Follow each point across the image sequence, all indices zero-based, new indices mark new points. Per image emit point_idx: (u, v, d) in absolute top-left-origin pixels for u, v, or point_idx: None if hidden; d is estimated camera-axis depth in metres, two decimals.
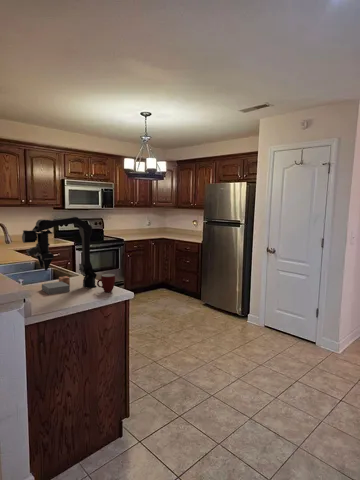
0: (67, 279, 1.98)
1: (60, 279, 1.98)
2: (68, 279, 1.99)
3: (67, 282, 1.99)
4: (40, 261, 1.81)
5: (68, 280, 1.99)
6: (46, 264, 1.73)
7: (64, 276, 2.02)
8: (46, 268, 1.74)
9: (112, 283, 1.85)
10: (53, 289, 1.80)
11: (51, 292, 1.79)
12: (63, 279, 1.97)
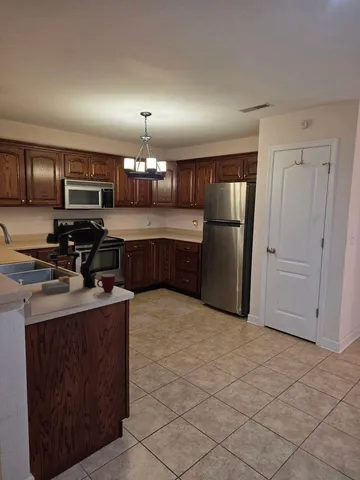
0: (67, 279, 1.98)
1: (60, 279, 1.98)
2: (68, 279, 1.99)
3: (67, 282, 1.99)
4: (71, 262, 2.02)
5: (68, 280, 1.99)
6: (54, 264, 1.95)
7: (64, 276, 2.02)
8: (56, 267, 1.95)
9: (112, 283, 1.85)
10: (53, 289, 1.80)
11: (51, 292, 1.79)
12: (63, 279, 1.97)
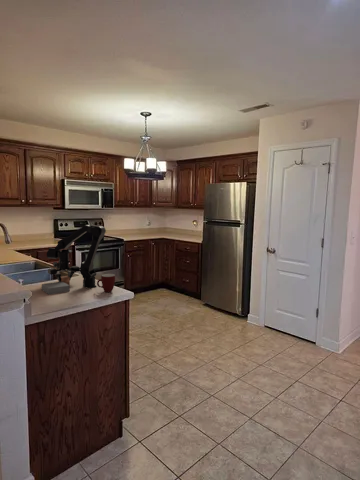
0: (67, 279, 1.98)
1: None
2: (68, 279, 1.99)
3: (67, 282, 1.99)
4: None
5: (68, 280, 1.99)
6: (58, 278, 1.97)
7: (64, 276, 2.02)
8: None
9: (112, 283, 1.85)
10: (53, 289, 1.80)
11: (51, 292, 1.79)
12: (63, 279, 1.97)
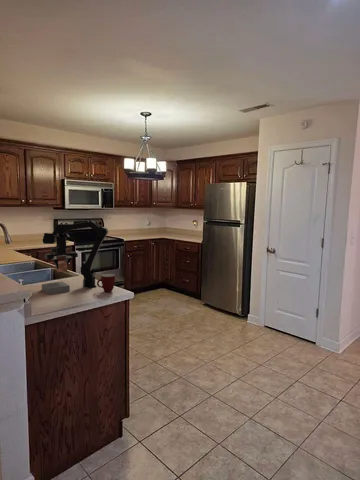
0: (64, 264, 1.93)
1: None
2: (65, 265, 1.94)
3: (64, 268, 1.94)
4: None
5: (65, 266, 1.94)
6: (55, 264, 1.92)
7: (62, 262, 1.97)
8: (56, 267, 1.93)
9: (112, 283, 1.85)
10: (53, 289, 1.80)
11: (51, 292, 1.79)
12: (60, 265, 1.92)
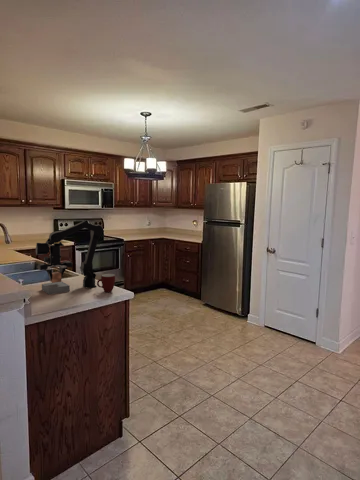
0: (59, 275, 1.85)
1: None
2: (59, 275, 1.85)
3: (59, 278, 1.85)
4: None
5: (60, 276, 1.85)
6: (48, 274, 1.83)
7: (55, 272, 1.88)
8: (50, 278, 1.84)
9: (112, 283, 1.85)
10: (53, 289, 1.80)
11: (51, 292, 1.79)
12: (54, 275, 1.83)
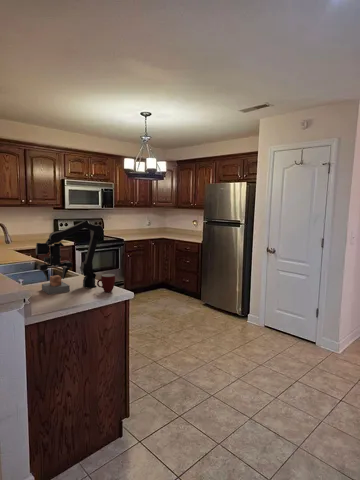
0: (59, 278, 1.85)
1: (51, 278, 1.84)
2: (59, 278, 1.85)
3: (59, 282, 1.85)
4: (63, 273, 1.89)
5: (60, 279, 1.85)
6: (45, 275, 1.82)
7: None
8: None
9: (112, 283, 1.85)
10: (53, 289, 1.80)
11: (51, 292, 1.79)
12: (54, 279, 1.83)
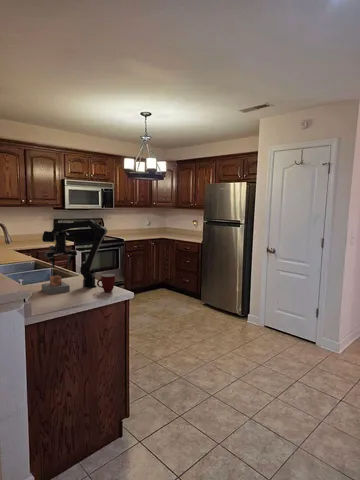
0: (59, 278, 1.85)
1: (51, 278, 1.84)
2: (59, 278, 1.85)
3: (59, 282, 1.85)
4: (68, 261, 1.99)
5: (60, 279, 1.85)
6: (51, 262, 1.92)
7: None
8: (52, 266, 1.92)
9: (112, 283, 1.85)
10: (53, 289, 1.80)
11: (51, 292, 1.79)
12: (54, 279, 1.83)
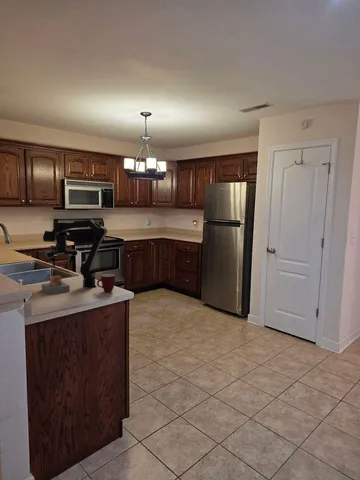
0: (59, 278, 1.85)
1: (51, 278, 1.84)
2: (59, 278, 1.85)
3: (59, 282, 1.85)
4: (68, 260, 2.00)
5: (60, 279, 1.85)
6: (52, 262, 1.92)
7: None
8: (53, 265, 1.93)
9: (112, 283, 1.85)
10: (53, 289, 1.80)
11: (51, 292, 1.79)
12: (54, 279, 1.83)
